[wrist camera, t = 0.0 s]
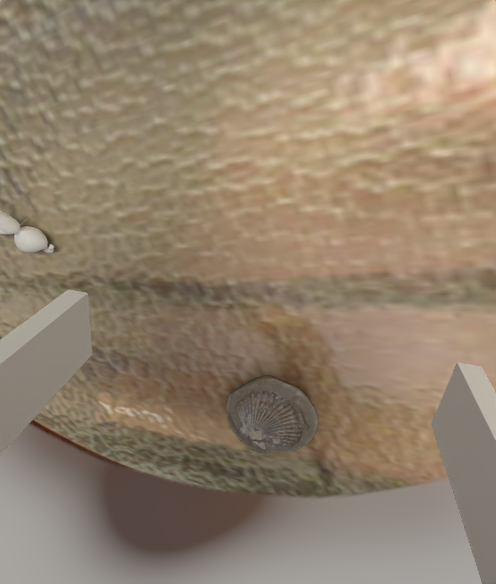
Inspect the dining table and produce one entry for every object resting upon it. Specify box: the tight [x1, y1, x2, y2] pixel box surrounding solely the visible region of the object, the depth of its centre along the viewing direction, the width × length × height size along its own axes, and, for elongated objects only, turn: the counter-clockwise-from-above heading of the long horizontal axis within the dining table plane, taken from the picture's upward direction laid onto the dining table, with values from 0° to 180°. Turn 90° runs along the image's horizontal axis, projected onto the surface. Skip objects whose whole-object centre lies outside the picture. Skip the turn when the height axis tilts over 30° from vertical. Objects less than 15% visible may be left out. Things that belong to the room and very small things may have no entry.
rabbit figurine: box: [0, 211, 54, 253], centre depth 45 cm, size 6×4×8 cm
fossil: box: [226, 376, 318, 454], centre depth 50 cm, size 10×12×3 cm
